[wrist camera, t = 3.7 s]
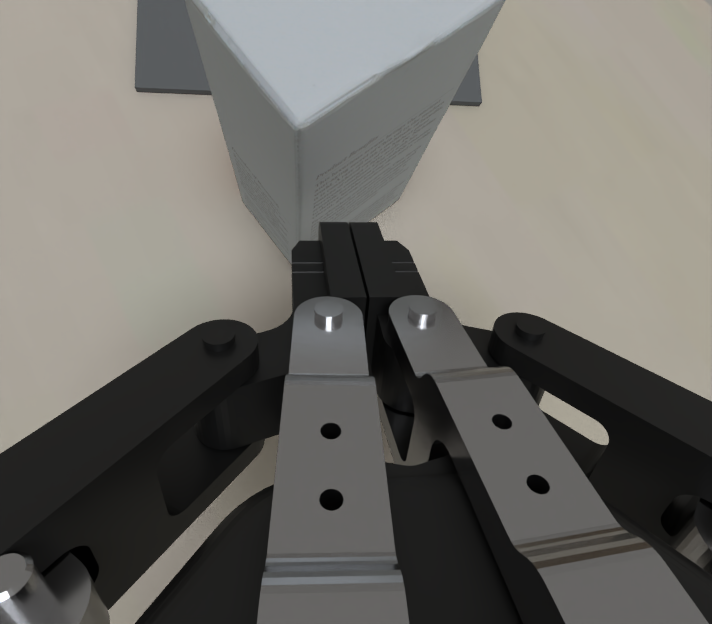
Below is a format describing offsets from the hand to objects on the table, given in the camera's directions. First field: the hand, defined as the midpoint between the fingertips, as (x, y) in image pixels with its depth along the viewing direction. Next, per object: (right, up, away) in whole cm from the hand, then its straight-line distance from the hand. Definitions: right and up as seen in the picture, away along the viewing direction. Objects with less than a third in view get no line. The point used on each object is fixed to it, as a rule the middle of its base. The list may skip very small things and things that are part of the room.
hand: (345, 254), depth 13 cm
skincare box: (-1, +3, +9) cm, 10 cm away
